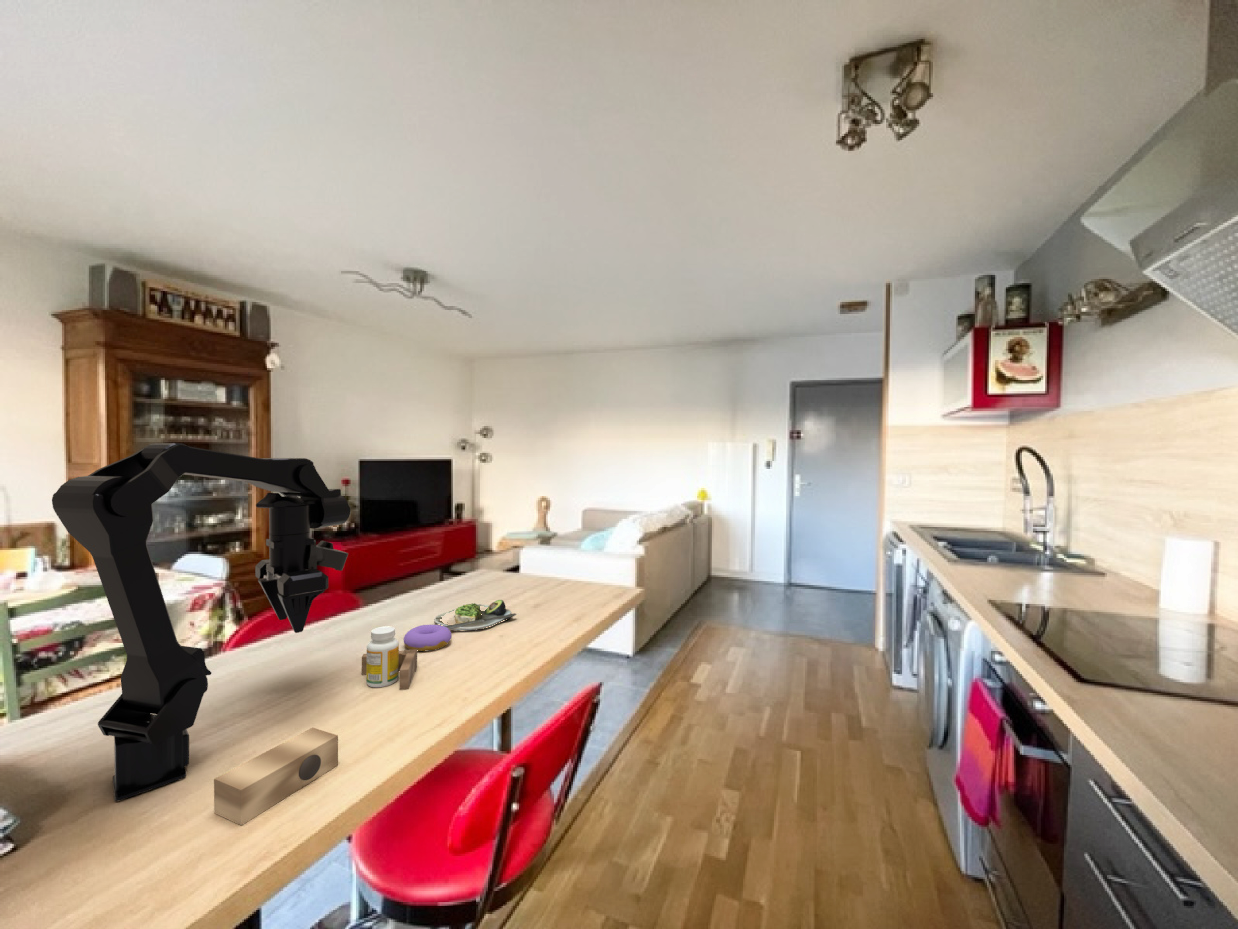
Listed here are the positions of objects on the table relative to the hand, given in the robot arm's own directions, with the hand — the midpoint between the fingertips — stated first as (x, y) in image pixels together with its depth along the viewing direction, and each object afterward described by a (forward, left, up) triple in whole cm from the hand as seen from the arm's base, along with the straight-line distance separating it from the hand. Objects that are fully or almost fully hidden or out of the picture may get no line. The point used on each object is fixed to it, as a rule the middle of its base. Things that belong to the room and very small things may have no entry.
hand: (290, 625), depth 84 cm
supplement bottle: (+14, -3, -13) cm, 19 cm away
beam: (-7, -24, -13) cm, 28 cm away
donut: (+28, +8, -13) cm, 32 cm away
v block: (+17, -2, -13) cm, 22 cm away
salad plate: (+44, +16, -14) cm, 49 cm away
